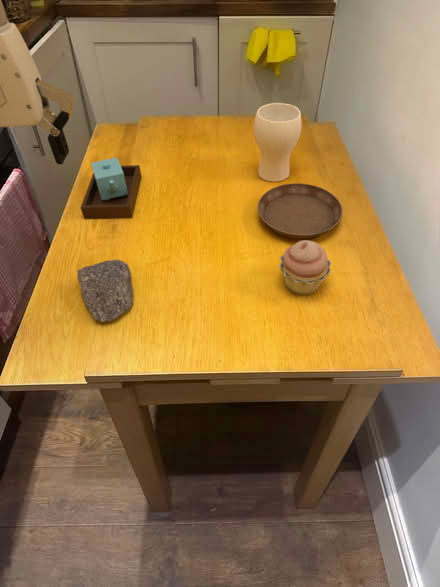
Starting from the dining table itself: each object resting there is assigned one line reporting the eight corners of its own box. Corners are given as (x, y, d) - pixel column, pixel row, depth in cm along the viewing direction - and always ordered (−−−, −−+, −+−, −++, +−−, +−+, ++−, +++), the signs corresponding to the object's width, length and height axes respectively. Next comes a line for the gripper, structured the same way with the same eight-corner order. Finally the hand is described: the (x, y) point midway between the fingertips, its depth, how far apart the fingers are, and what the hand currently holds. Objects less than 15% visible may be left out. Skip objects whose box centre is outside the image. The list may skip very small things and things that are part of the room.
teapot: (132, 206, 92) (125, 176, 86) (105, 212, 90) (96, 182, 85) (121, 178, 99) (115, 149, 94) (96, 183, 98) (88, 155, 92)
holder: (132, 218, 90) (129, 206, 87) (84, 219, 90) (80, 207, 88) (141, 176, 101) (139, 165, 98) (99, 177, 101) (95, 166, 99)
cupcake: (285, 259, 80) (291, 218, 72) (332, 273, 77) (343, 232, 69) (268, 292, 74) (272, 251, 67) (318, 308, 71) (328, 267, 64)
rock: (67, 271, 72) (118, 247, 75) (78, 289, 77) (126, 265, 79) (88, 319, 66) (144, 290, 68) (100, 335, 70) (151, 308, 73)
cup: (292, 160, 104) (299, 100, 93) (298, 184, 97) (307, 122, 85) (250, 162, 104) (252, 102, 93) (254, 186, 97) (256, 124, 85)
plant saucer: (299, 257, 80) (301, 246, 78) (240, 215, 89) (240, 204, 87) (357, 221, 87) (360, 209, 85) (297, 185, 96) (298, 174, 94)
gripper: (-133, 27, 41) (-46, 176, 54) (37, 22, 41) (84, 173, 54) (-95, 7, 46) (-24, 147, 59) (57, 2, 46) (95, 145, 59)
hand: (27, 160), depth 56 cm, fingers open, 9 cm apart
